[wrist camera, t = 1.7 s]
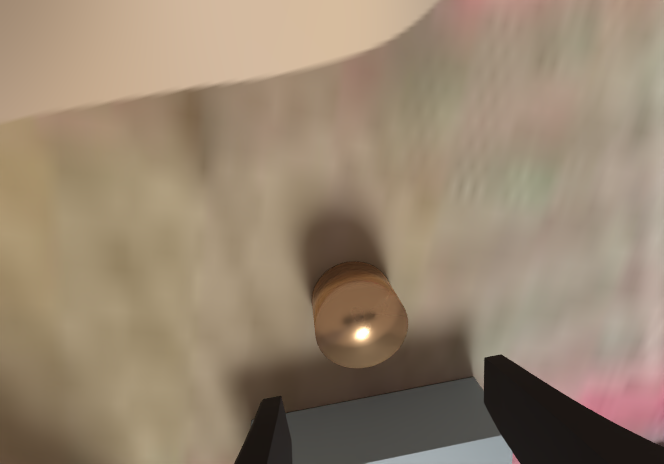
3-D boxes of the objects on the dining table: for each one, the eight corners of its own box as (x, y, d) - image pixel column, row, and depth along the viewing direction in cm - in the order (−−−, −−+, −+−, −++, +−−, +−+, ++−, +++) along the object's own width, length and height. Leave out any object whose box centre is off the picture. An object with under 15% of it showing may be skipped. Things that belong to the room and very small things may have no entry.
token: (318, 338, 19) (322, 375, 16) (306, 268, 17) (308, 296, 15) (393, 324, 19) (410, 359, 16) (387, 254, 18) (405, 279, 15)
